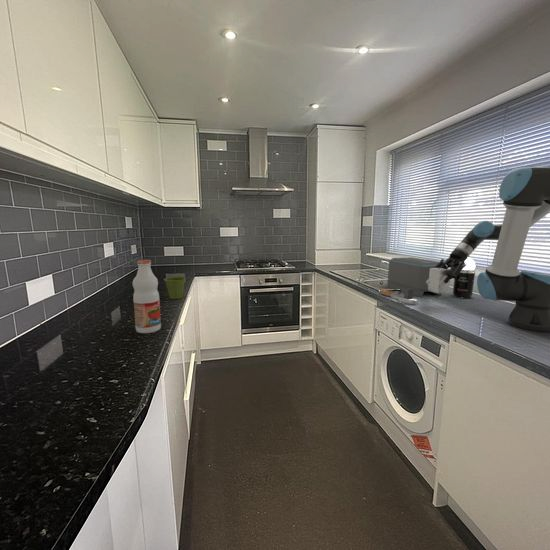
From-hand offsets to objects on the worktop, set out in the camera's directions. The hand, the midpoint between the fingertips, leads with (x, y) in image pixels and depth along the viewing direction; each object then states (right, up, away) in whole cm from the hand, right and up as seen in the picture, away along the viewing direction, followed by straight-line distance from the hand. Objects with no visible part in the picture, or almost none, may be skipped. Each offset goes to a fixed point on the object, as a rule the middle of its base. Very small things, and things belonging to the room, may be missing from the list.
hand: (433, 285), depth 152 cm
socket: (+3, -3, +2) cm, 5 cm away
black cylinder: (+31, -8, +25) cm, 41 cm away
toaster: (+8, -5, +42) cm, 43 cm away
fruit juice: (-133, -17, -34) cm, 138 cm away
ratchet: (-11, -9, +18) cm, 23 cm away
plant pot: (-139, -8, +17) cm, 140 cm away
